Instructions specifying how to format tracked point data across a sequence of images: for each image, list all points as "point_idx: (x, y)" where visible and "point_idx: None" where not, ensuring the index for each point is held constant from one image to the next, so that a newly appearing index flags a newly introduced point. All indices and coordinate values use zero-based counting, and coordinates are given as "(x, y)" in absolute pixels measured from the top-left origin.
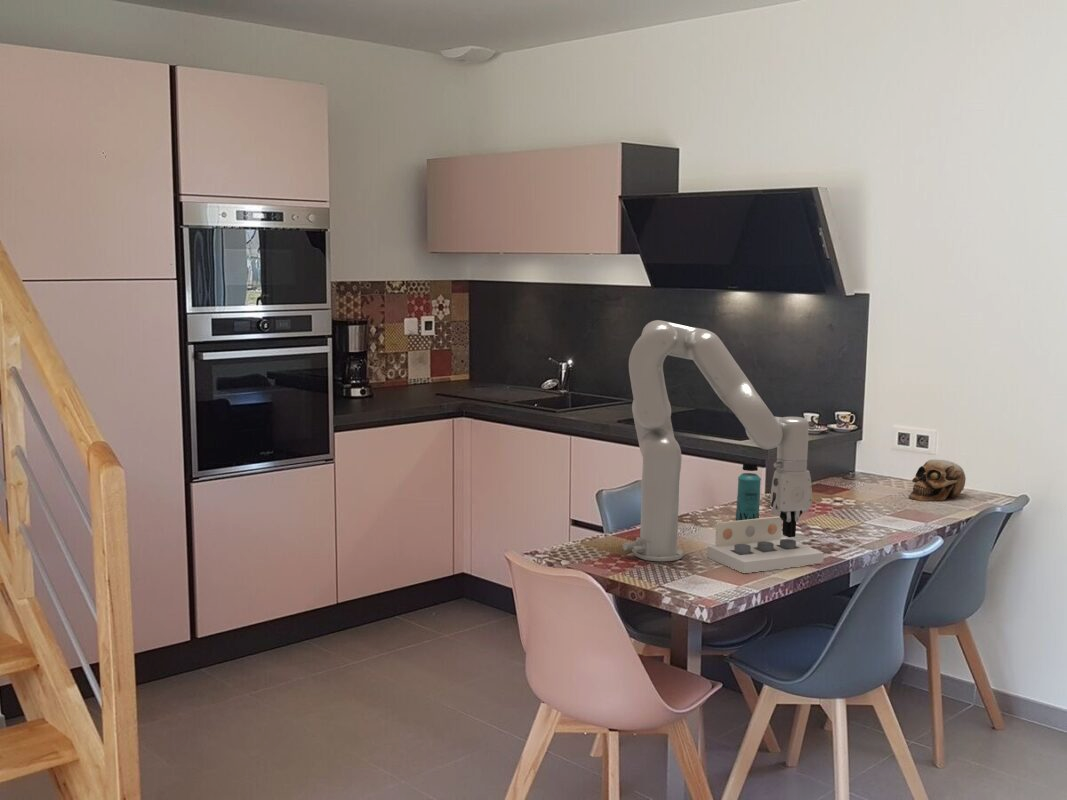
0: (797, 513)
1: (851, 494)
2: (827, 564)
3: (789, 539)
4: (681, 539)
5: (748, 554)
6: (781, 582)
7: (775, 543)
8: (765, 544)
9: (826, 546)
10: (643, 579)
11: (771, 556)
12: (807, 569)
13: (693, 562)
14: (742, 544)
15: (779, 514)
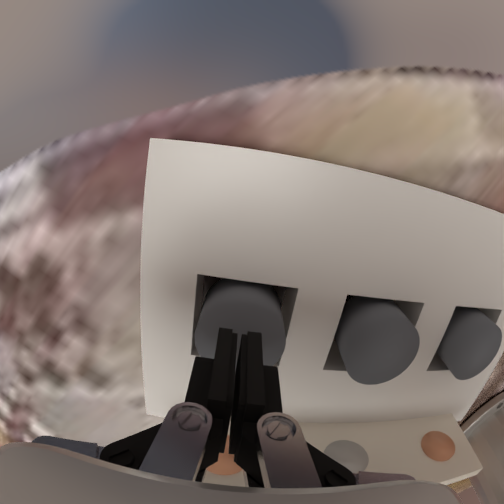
0: (174, 461)
1: None
2: (151, 130)
3: (209, 357)
4: None
5: (482, 304)
6: (499, 83)
7: None
8: (400, 341)
9: (16, 319)
10: None
11: (452, 233)
12: (305, 115)
13: (499, 370)
14: (460, 371)
15: (366, 481)
